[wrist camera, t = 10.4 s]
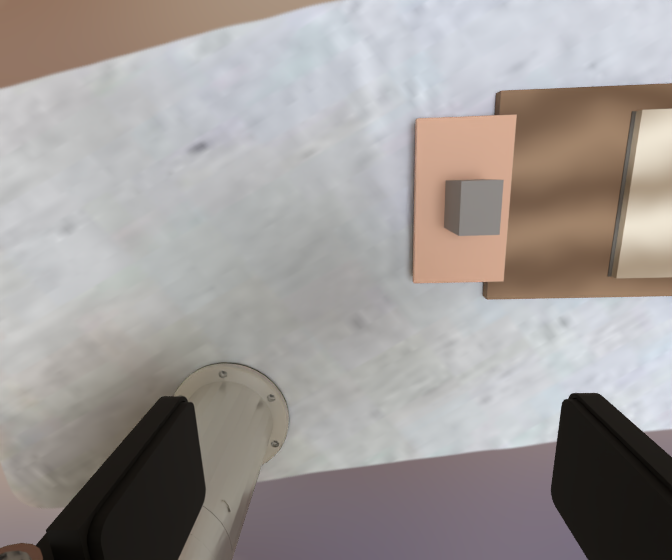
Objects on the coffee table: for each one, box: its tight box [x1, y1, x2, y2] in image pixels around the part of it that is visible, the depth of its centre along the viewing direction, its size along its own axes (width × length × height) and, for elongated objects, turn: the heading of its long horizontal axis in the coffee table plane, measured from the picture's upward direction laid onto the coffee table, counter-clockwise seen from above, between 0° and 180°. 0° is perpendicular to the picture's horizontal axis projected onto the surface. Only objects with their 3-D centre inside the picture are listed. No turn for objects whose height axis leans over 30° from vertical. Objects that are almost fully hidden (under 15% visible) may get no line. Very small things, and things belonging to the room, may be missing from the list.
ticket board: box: [483, 83, 672, 299], centre depth 34 cm, size 18×24×2 cm
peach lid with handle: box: [413, 115, 517, 283], centre depth 32 cm, size 14×8×6 cm, turn 2°
